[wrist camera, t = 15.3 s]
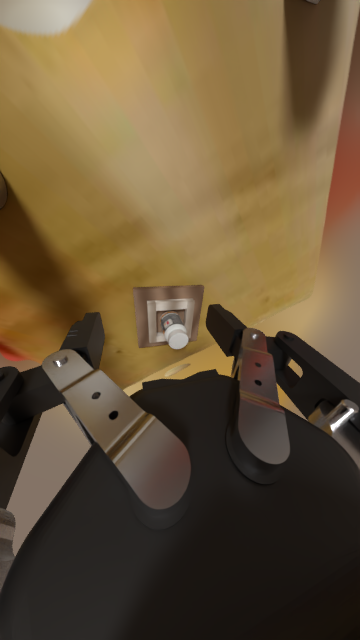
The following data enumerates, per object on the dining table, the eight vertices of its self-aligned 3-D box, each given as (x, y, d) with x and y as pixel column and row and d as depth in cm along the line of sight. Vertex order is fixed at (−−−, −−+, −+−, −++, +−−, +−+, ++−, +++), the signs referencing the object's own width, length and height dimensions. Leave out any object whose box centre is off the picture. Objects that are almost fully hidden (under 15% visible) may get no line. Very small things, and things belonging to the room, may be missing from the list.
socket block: (138, 344, 48) (139, 352, 45) (132, 287, 38) (133, 293, 36) (194, 337, 53) (198, 344, 50) (202, 285, 43) (207, 289, 40)
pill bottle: (155, 320, 43) (161, 343, 35) (170, 306, 42) (180, 326, 34) (168, 330, 46) (177, 354, 38) (183, 318, 45) (195, 339, 37)
